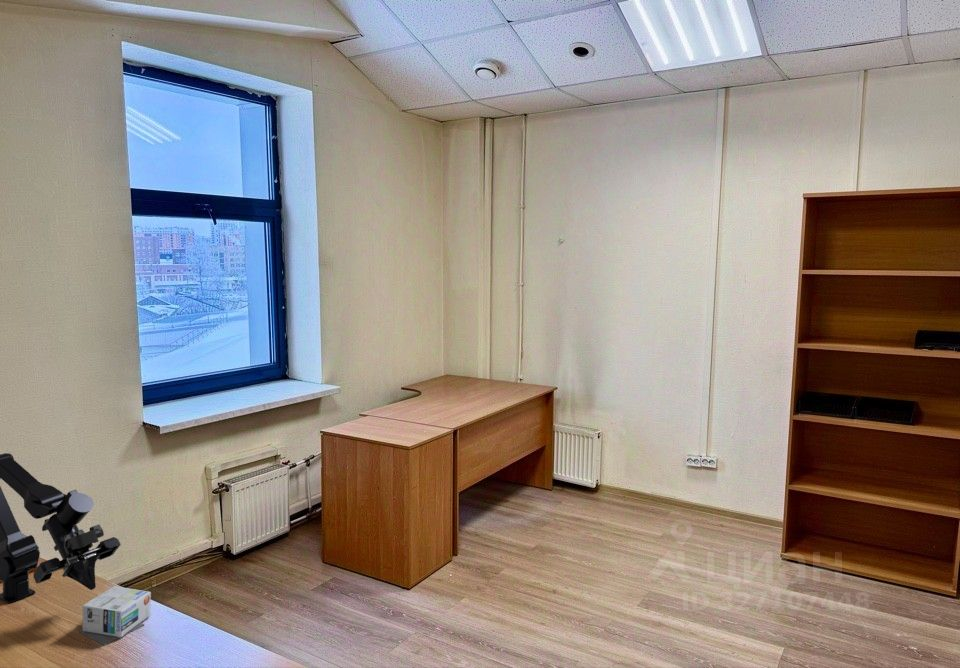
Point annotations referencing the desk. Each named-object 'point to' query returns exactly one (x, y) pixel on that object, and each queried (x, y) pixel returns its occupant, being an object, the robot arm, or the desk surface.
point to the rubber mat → (106, 638)
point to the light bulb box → (116, 611)
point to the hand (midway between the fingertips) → (93, 588)
